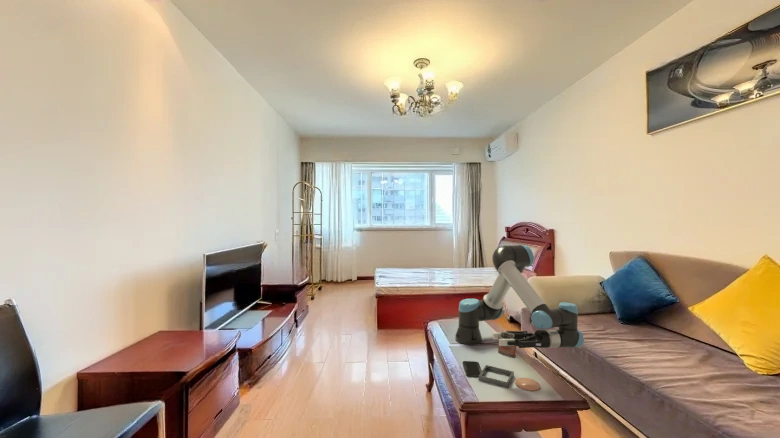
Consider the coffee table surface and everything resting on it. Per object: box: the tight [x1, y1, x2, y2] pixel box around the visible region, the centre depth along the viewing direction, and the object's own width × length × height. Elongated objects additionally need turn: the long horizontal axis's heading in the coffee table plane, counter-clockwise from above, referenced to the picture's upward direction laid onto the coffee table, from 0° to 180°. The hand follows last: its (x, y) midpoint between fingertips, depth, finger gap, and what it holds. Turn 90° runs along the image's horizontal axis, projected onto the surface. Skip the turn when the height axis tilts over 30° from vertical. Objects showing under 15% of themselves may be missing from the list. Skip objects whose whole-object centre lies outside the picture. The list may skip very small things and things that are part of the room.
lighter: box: [497, 331, 517, 359], centre depth 148 cm, size 8×3×10 cm, turn 44°
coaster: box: [514, 377, 541, 392], centre depth 145 cm, size 10×10×1 cm
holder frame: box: [478, 364, 515, 389], centre depth 150 cm, size 13×13×2 cm
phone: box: [462, 360, 485, 379], centre depth 158 cm, size 8×1×15 cm
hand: (496, 339), depth 148 cm, fingers closed on lighter, 7 cm apart
